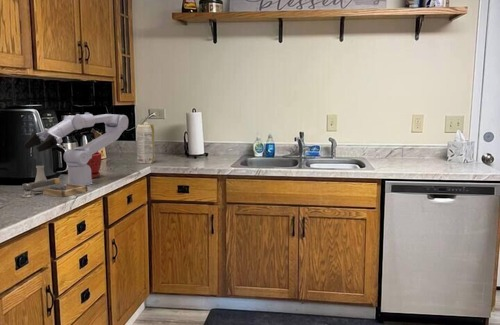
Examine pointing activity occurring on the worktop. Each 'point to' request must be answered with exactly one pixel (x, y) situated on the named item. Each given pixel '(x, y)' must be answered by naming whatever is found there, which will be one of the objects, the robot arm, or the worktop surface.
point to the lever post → (27, 193)
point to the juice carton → (145, 143)
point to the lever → (40, 184)
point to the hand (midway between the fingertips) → (31, 148)
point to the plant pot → (95, 164)
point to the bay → (66, 191)
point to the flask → (40, 178)
